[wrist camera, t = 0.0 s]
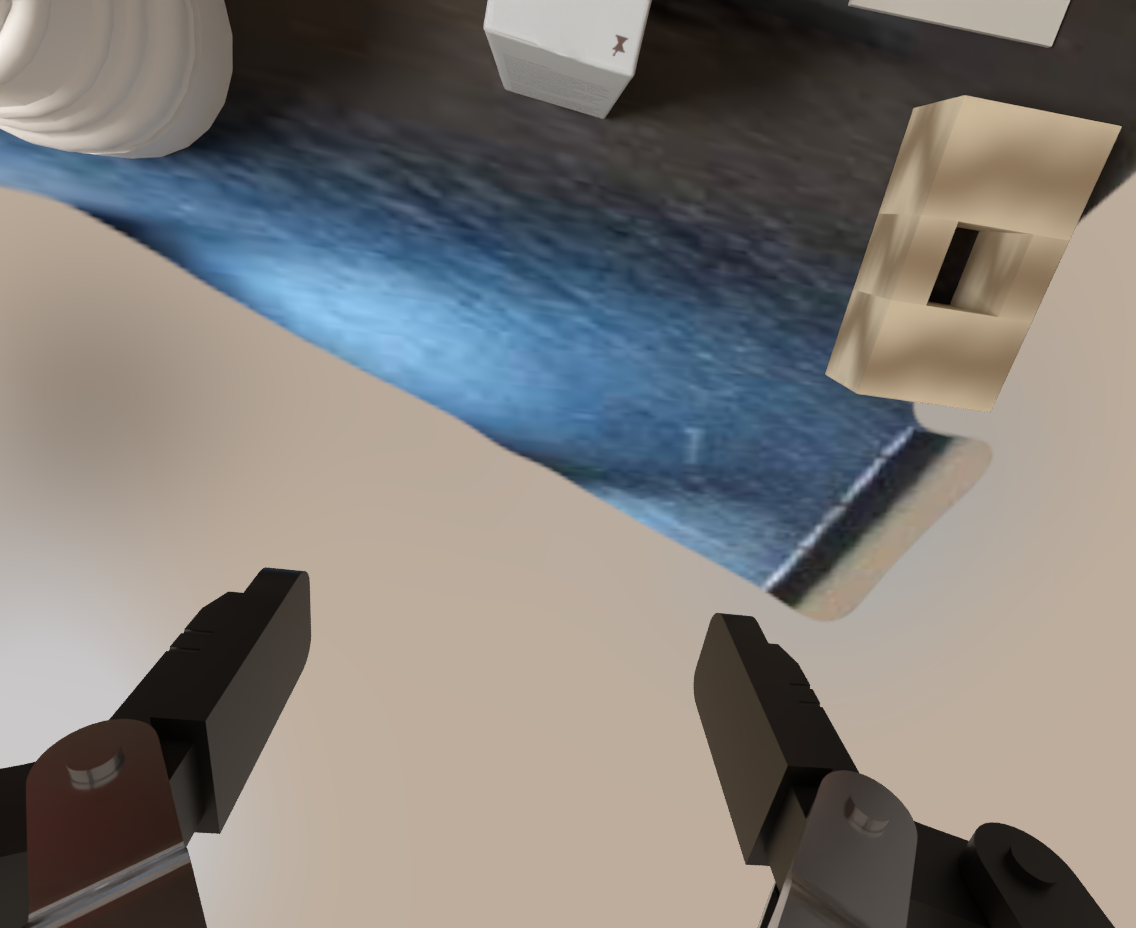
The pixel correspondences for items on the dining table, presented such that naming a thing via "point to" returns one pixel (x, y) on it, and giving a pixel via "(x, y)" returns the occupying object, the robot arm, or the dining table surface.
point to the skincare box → (567, 49)
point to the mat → (982, 16)
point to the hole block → (996, 263)
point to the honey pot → (113, 73)
